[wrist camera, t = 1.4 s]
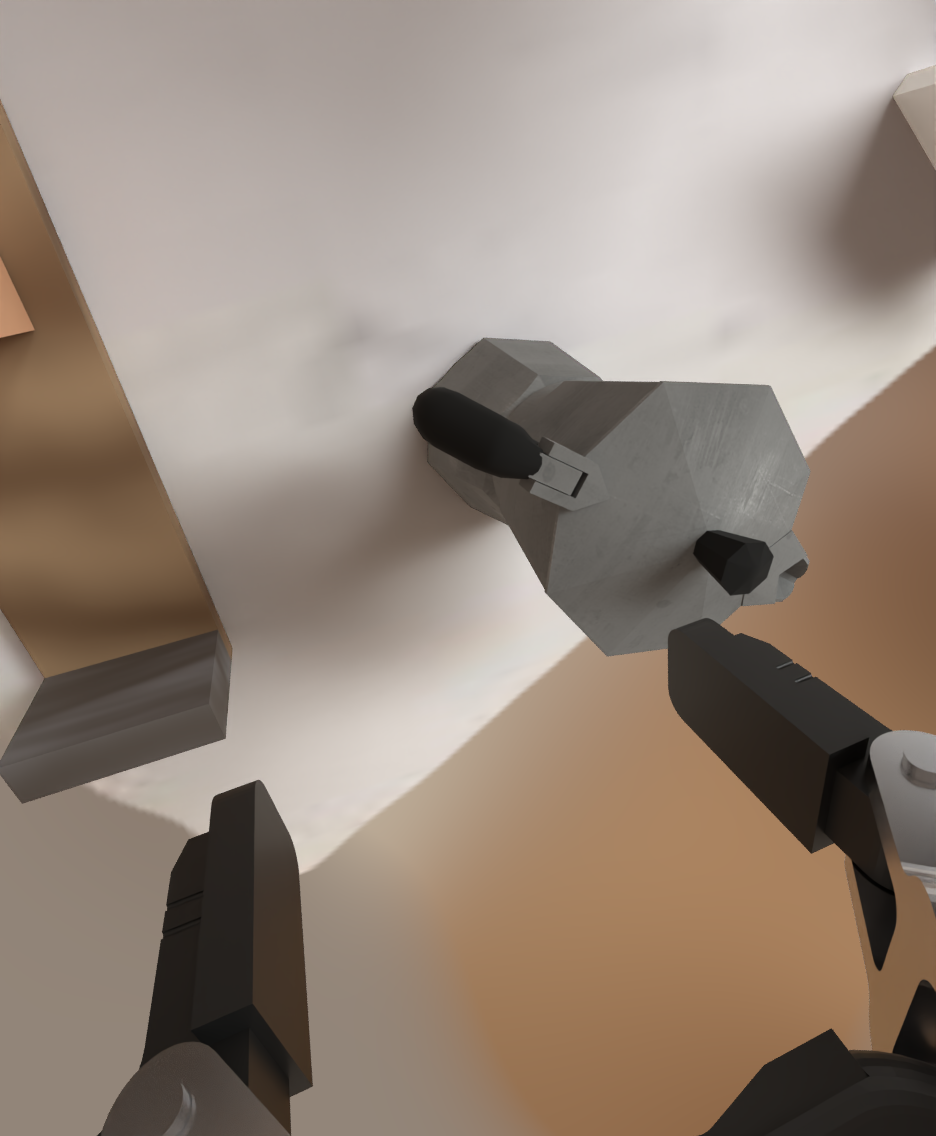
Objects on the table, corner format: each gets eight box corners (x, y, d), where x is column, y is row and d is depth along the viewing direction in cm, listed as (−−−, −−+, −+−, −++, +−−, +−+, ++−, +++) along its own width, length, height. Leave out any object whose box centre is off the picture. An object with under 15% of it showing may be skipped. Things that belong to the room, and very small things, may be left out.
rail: (-292, 108, 18) (-577, 19, 12) (-7, 82, 20) (-128, -7, 14) (71, 694, 30) (22, 803, 23) (232, 648, 31) (225, 738, 25)
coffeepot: (641, 394, 32) (988, 497, 17) (561, 542, 35) (799, 748, 20) (389, 247, 25) (587, 198, 10) (312, 445, 28) (377, 645, 13)
